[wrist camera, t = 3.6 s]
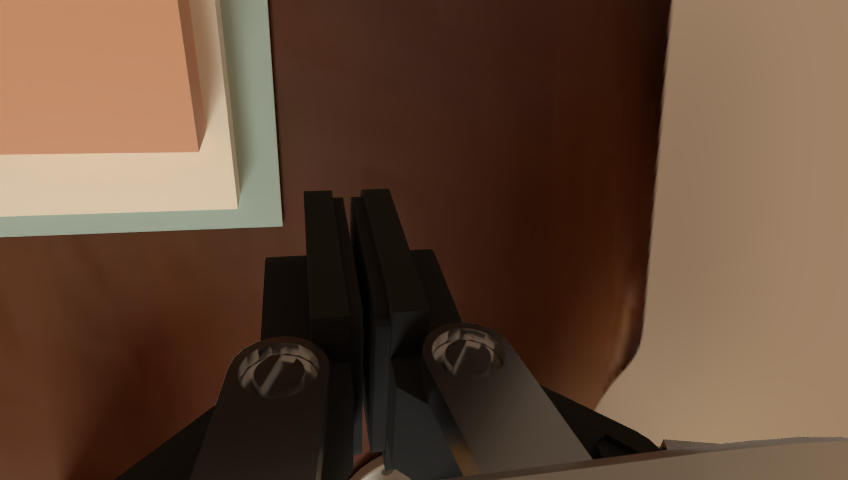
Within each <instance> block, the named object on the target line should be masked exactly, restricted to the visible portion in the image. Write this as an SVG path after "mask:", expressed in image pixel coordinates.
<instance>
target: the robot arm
mask: <svg viewBox="0 0 848 480" xmlns="http://www.w3.org/2000/svg"><path fill="white" fill-rule="evenodd" d="M304 210H305V232H306V254H307V255H305V256H285V257H266V261H265V276H264V293H263V309H262V326H261V341H258V342H255V343H254V344H252V345H250V346H248V347H246V348H244V349H243V350H242V351H241V352H240V353H239V354H238V355H236V356H235V357H234V359H233V360H232V362H231V364H230V366H229V367H228V370H227V373H226V375H225V378H224V381H223V384H222V387H221V390H220V393H219V396H218V399H217V402H216V405H215V406H214V407H212V408H211V409H209V410H208V411H207V412H205V413H204V414H203V415H201V416H200V417H199V418H197V419H196V420H195V421H193V422H192V423H191V424H189V425H188V426H187V427H185V428H184V429H183V430H181V431H180V432H178V433H177V434H176V435H174V436H173V437H172V438H170V439H169V440H168V441H166V442H165V443H164V444H162V445H161V446H160V447H158V448H157V449H156V450H154V451H153V452H152V453H150V454H149V455H147V456H146V457H145V458H143V459H142V460H141V461H139V462H138V463H137V464H135V465H134V466H133V467H131V468H130V469H129V470H127V471H126V472H125V473H123V474H122V475H121V476H119V477H118V478H117V479H115V480H346V479H347V478H348V477H349V476H350V475H351V474H352V473H353V455H356V454H361V453H362V405H364V411H365V418H366V425H367V432H368V439H369V445H370V451H371V453H373V452H381V451H382V455H381V456H379V457H377V458H376V459H374V460H372V461H370V462H369V463H368V464H366V465H365V466H364V467H362V468H361V469H360V470H358V471H357V472H356V473H355V474H354V475H353V476H352V477H351V479H350V480H848V438H844V437H793V438H783V439H782V438H781V439H770V440H754V441H744V442H734V443H725V444H714V443H701V442H688V441H676V440H663V442H662V444H661V447H657V446H656V445H655V444H654V443H653V442H651V441H650V440H649V439H648V438H646V437H645V436H643V435H641V434H639V433H638V432H636V431H634V430H632V429H630V428H628V427H626V426H624V425H622V424H620V423H618V422H616V421H614V420H612V419H610V418H607V417H605V416H603V415H601V414H599V413H597V412H595V411H593V410H591V409H589V408H587V407H585V406H583V405H581V404H578V403H576V402H574V401H572V400H570V399H568V398H566V397H564V396H562V395H560V394H558V393H556V392H553V391H551V390H549V389H547V388H545V387H543V386H541V385H539V384H538V382H537V381H536V379H535V378H534V377H533V375H532V374H531V372H530V371H529V370H528V368H527V367H526V365H525V364H524V363H523V361H522V360H521V358H520V357H519V356H518V354H517V353H516V351H515V350H514V349H513V347H512V346H511V344H510V343H509V342H508V341H507V340H506V339H505V338H504V337H503V336H502V335H500V334H499V333H497V332H495V331H494V330H492V329H490V328H487V327H485V326H482V325H479V324H472V323H465V322H463V323H462V321H461V319H460V316H459V314H458V311H457V309H456V306H455V304H454V301H453V299H452V296H451V294H450V291H449V289H448V286H447V284H446V281H445V279H444V276H443V274H442V271H441V269H440V266H439V264H438V261H437V259H436V256H435V254H434V252H433V250H431V249H424V250H409V247H408V244H407V241H406V238H405V235H404V232H403V229H402V226H401V223H400V220H399V217H398V214H397V211H396V208H395V205H394V202H393V199H392V196H391V193H390V191H389V189H371V190H361V196H360V197H351V215H350V235H349V229H348V224H347V218H346V213H345V207H344V201H343V197H342V198H333V197H332V191H304Z"/></svg>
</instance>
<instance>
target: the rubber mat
mask: <svg viewBox="0 0 848 480" xmlns="http://www.w3.org/2000/svg"><path fill="white" fill-rule="evenodd" d="M220 7H221V16H222V26H223V35H224V45H225V54H226V63H227V73H228V82H229V92H230V101H231V110H232V120H233V129H234V138H235V148H236V157H237V167H238V176H239V185H240V199H239V206H238V209H225V210H194V211H163V212H132V213H101V214H70V215H39V216H8V217H0V237H17V236H43V235H69V234H94V233H120V232H146V231H172V230H198V229H224V228H249V227H275V226H283V222H282V208H281V193H280V178H279V163H278V148H277V133H276V118H275V104H274V89H273V74H272V59H271V44H270V29H269V15H268V0H220Z"/></svg>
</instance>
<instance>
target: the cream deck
mask: <svg viewBox="0 0 848 480" xmlns="http://www.w3.org/2000/svg"><path fill="white" fill-rule="evenodd" d="M189 5H190V12H191V20H192V27H193V35H194V43H195V50H196V58H197V65H198V73H199V81H200V88H201V96H202V103H203V111H204V119H205V126H206V133H205V136H204V139H203V142H202V145H201V147H200V150H199V152H165V153H87V154H9V155H0V217H8V216H39V215H70V214H101V213H132V212H163V211H194V210H225V209H238V206H239V199H240V185H239V176H238V167H237V157H236V148H235V138H234V129H233V120H232V110H231V101H230V92H229V82H228V73H227V63H226V54H225V45H224V35H223V26H222V16H221V7H220V0H189Z"/></svg>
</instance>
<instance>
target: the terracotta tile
mask: <svg viewBox="0 0 848 480" xmlns="http://www.w3.org/2000/svg"><path fill="white" fill-rule="evenodd" d="M205 133H206V126H205V119H204V111H203V103H202V96H201V88H200V81H199V73H198V65H197V58H196V50H195V43H194V35H193V27H192V20H191V12H190V5H189V0H0V155H9V154H87V153H165V152H199V150H200V147H201V145H202V142H203V139H204V136H205Z"/></svg>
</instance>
